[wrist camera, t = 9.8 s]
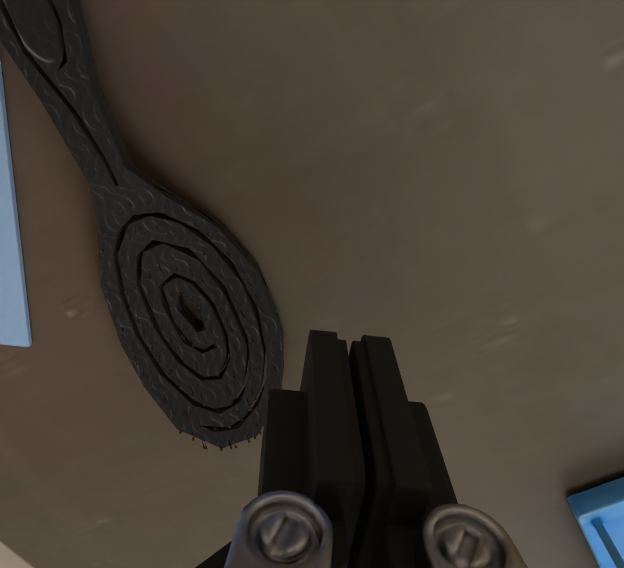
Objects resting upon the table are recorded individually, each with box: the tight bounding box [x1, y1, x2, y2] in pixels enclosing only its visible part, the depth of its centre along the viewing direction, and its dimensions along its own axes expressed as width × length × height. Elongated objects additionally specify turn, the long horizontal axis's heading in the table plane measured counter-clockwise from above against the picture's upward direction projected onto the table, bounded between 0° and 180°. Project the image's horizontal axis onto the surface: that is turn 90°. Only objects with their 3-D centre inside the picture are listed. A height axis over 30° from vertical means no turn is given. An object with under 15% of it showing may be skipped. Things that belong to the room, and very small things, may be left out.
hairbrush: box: [0, 0, 284, 451], centre depth 24 cm, size 8×4×25 cm
